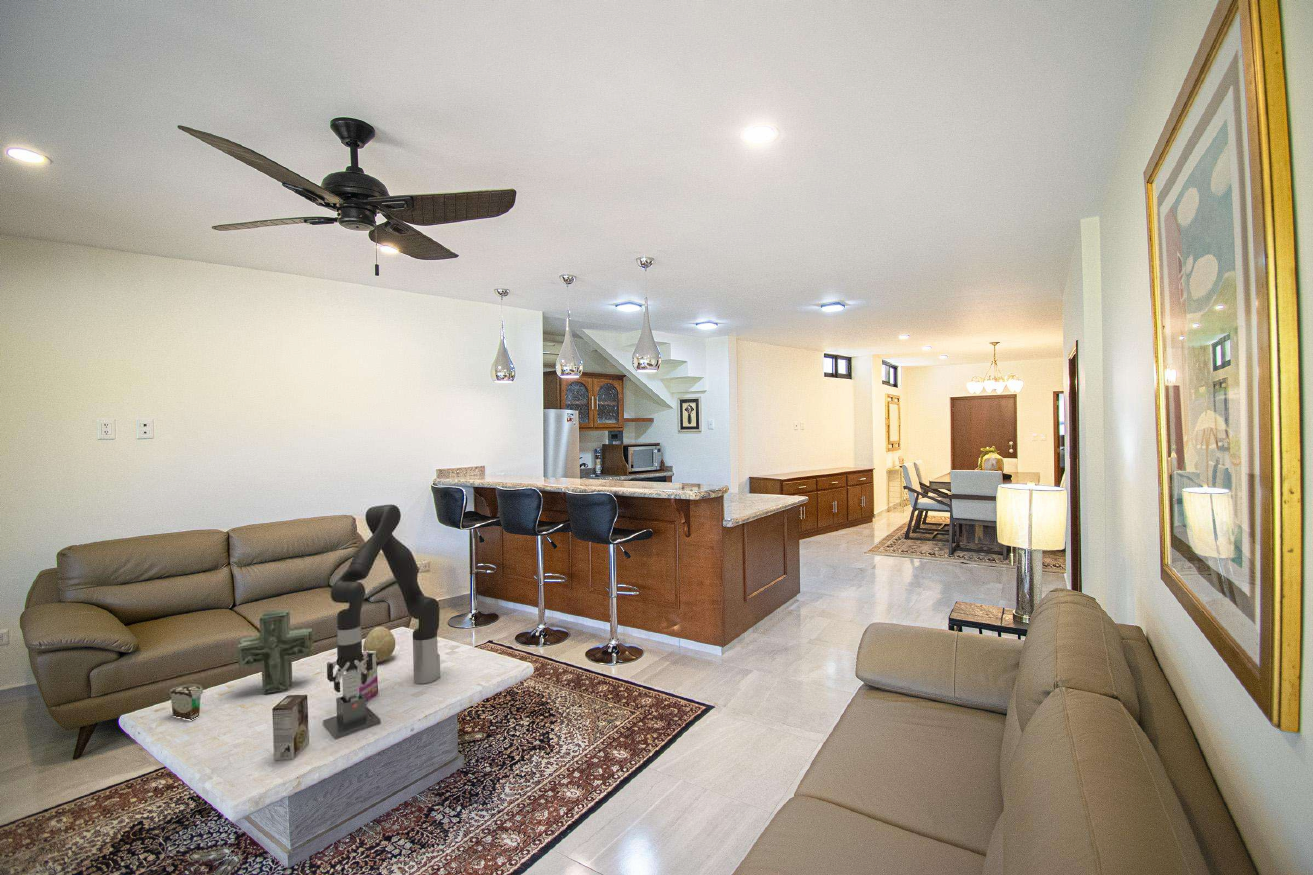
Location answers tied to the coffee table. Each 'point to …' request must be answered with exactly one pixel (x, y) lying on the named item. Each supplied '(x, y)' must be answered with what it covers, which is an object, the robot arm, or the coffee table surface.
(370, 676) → the candy bar box
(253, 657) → the religious sculpture
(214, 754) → the coffee table surface
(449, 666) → the coffee table surface
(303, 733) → the coffee box
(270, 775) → the coffee table surface
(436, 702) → the coffee table surface
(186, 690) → the food container
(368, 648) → the fossilized egg
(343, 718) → the jack stand base
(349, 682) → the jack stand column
